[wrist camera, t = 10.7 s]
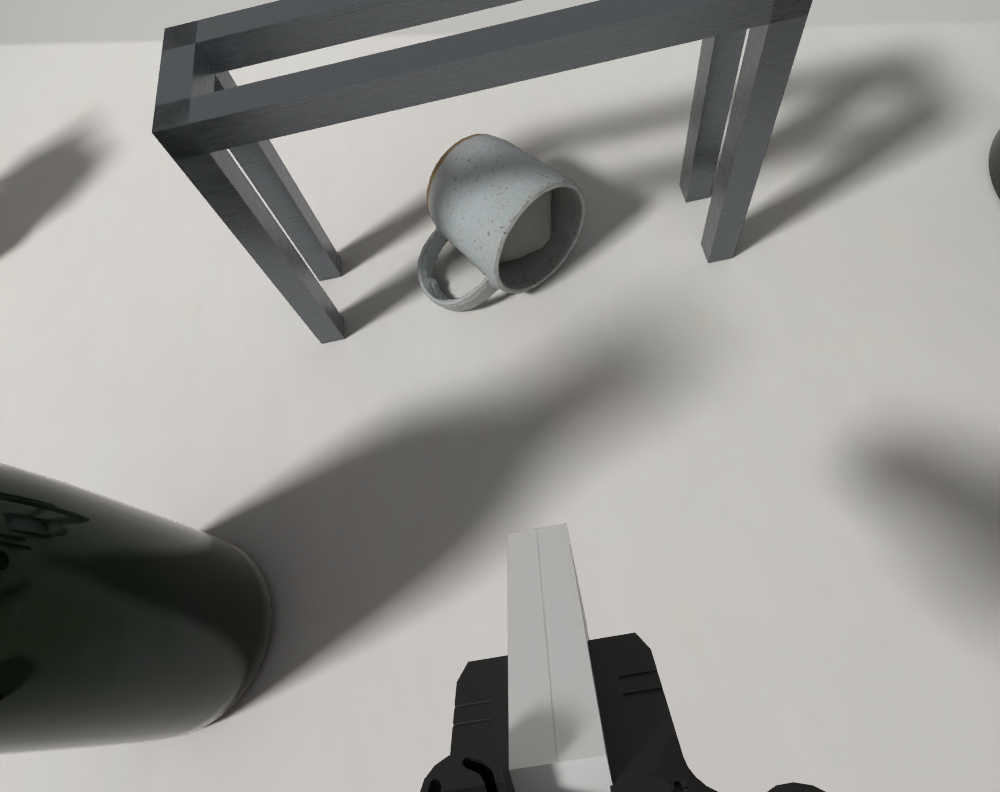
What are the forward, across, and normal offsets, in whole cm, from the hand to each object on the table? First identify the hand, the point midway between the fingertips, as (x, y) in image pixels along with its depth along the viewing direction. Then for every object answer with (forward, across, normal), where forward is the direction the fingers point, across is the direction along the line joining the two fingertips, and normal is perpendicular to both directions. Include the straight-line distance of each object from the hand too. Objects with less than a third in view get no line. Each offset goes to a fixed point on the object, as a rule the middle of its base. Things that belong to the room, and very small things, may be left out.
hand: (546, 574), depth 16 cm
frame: (+31, 0, +4) cm, 31 cm away
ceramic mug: (+31, -1, +4) cm, 31 cm away
